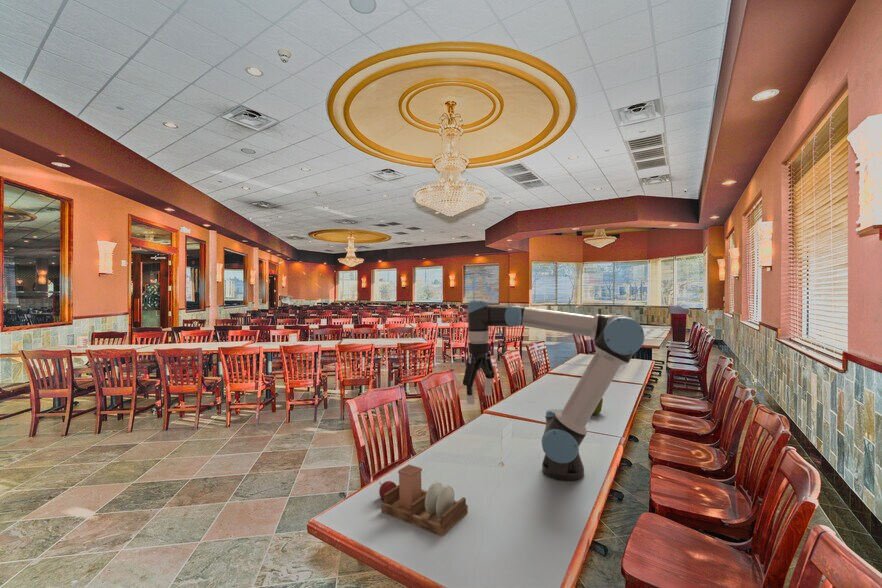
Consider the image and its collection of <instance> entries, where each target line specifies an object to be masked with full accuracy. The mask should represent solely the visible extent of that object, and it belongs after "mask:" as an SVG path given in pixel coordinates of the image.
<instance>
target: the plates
mask: <svg viewBox="0 0 882 588" xmlns="http://www.w3.org/2000/svg"><path fill="white" fill-rule="evenodd" d="M426 491H427V494H426V497H425V510H426V512H427V513H428V514H430V515H434V514H437V516H438V517H439V518H441V515H442V514H444V513H445V512H446V511H447V510H448V509H450V508H451V507H452V506H453V504H454V500H455V490H454V488H453V487H452V486H450V485H445V486H443V483H441V482H439V481H434V482H433V483H432V484H431V485H430V486H429V487H428V489H427V490H426Z"/></svg>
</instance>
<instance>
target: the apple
mask: <svg viewBox="0 0 882 588" xmlns="http://www.w3.org/2000/svg"><path fill="white" fill-rule="evenodd" d="M603 399H604V398H603V397H602V398H601V400H600V402H599V404H598V405H597V407H596V409H595V410H594V412H593V414H592V415H591V416H595V415H599V414H600V413H601V411H602V408H603Z"/></svg>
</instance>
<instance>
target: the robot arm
mask: <svg viewBox="0 0 882 588" xmlns="http://www.w3.org/2000/svg"><path fill="white" fill-rule="evenodd" d="M520 326H522V327H527V328H528V327H529V328H533V329H540V330H547V331H551V332H553V331H554V332H559V333H566V334H572V335H578V336H582V337H583V336H585V337H591V338H592V340H593V341H595V343H594V349H595V353H594V354H593V356H592V358H591V360H590V362H589V363H588V365H587V367H586V368H585V370H584V372H583V373H582V376H581V377H580V378H579V381H578V383H577V384H576V386H575V388H574V389H573V390H572V393H571V395H570V397H569V398H568V400H567V402H566V403H565V405H564V407H563V408H562V409H559V408H557V409H556V408H555V409H553V408H552V409H548V410H546V412H545V416H544V417H545V428H544V431H543V435H542V437H541V448H542V450H543V452H544V456H543V460H542V463H541V465H542V466H541V470H542V472H543V474H545V476H547V477H549V478H551V479H554V480H558V481H564V482H565V481H566V482H567V481H568V482H569V481H570V482H573V481H578V480H580V479H583V477H584V476H585V467H584V464H583V461H582V458H581V455H580V451H579V450H580V445H582V442H583V440H584V439H585V437H586V435H587V434H588V431H587V427H586V425H587V424H588V422H589V420H590V419H591V417H592V416H593V415H592V414H593V412H594V410H595V409H596V407H597V405H598V404H599V402H600V400H601V398H603V396H604V395H605V394H606V391H607V389H608V388H609V387H610V385H611V383H612V381H613V380H614V378H615V376H616V375H617V373H618V372H619V369H620V368H621V366H624V365H627V364H628V365H629V363H630V361H631V359H632V357H633V356H634V354H635V353H637V352H638V351H639V350H640V349H641V348H642V346H643V344H644V341H645V332H644V329H643V327H642V325H641V323H640V322H639V321H637V319H634V318H633V317H630V316H628V315H624V314H598V313H596V314H595V315H586V314H580V313H571V312H565V311H558V310H551V309H543V308H537V307H528V306H523V305H522V306H521V305H516V304H507V305H489V303H488V301H487V300H471V301H469V302H468V304H467V327H468V330H467V331H468V334H467V335H468V342H469V343H468V352H469V354H471V357H469V356H468V357H467V358H466V367H465V371H464V375H463V380H462V385H463V386H466V404H468V405H476V404H475V402H476V401H475V399H476V398H475V385H474V384H475V380H476V377H477V374H478V371H480V369H481V370H482V372H483V374H484V396H488V397H492V396H493V383H492V382H493V381H492V380H493V379H495V370H494V366H493V363H492V359H491V353H490V344H489V341H490V337H489V336H490V335H489V333H490V331H489V327H510V328H512V327H520Z"/></svg>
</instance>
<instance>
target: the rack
mask: <svg viewBox="0 0 882 588" xmlns="http://www.w3.org/2000/svg"><path fill="white" fill-rule="evenodd" d="M427 491H428V490H425V489H423V488H421V495H422V497H420V498H419V499H418V500H416V501H415V502H413V503H412V504H411V509H408V508H405V507H403V506H400V502H399V484H397V485H396V487H395V488H393V489H391V490H390V491H388V492H387V493H385V494H384V500H383V502H382V503H381V513H384V514H386V515H389V516H391V517H393V518H395V519H397V520H398V519H399V520H401V521H403V522H406V523H408V524H410V525H413V526H415V527H418V528H420V529H423V530H425V531H427V532H430V533H432V534H435V535H437V536H440V537H443V536H444V535H445V534H447V533H448V531H450V530H451V529H452V528H453V527H454V526H455V525H456V524H458V522H459V521H461V520H462V519H463V518H464V517H465V516H466V515H468V512H469V510H468V509H469V506H468V504H467V503H466V502H467V498H466V497H461V498H460V499H459V500H458V501H457V500H455V499H454V504H453V506H452V507H451V508H450V509H448V510H447V511H446V512H445V513H444V514H442V515H441V518H439V517H438V516H437V514H434V515H430V514H428V513H427V512H426V510H425V497H426V494H427Z"/></svg>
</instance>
